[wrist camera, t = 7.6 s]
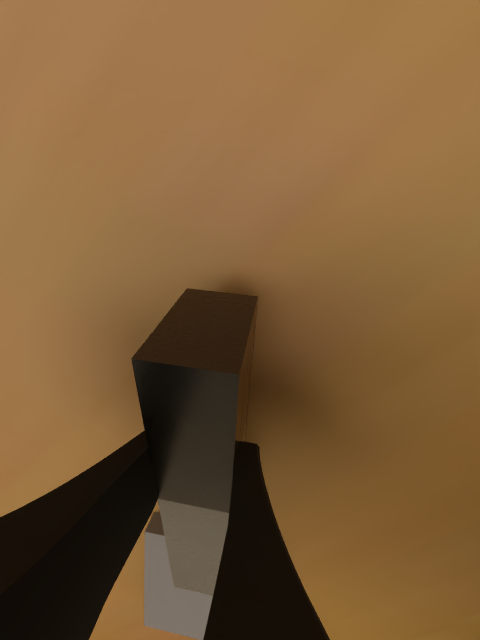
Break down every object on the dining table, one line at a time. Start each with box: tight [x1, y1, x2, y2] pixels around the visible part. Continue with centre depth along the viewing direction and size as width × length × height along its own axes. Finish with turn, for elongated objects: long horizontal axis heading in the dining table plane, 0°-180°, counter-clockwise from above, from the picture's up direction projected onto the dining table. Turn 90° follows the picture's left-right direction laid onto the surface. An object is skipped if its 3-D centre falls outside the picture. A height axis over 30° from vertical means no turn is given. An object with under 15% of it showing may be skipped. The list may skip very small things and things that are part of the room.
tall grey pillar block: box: [132, 289, 258, 596], centre depth 12 cm, size 14×2×4 cm, turn 175°
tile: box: [144, 512, 213, 640], centre depth 18 cm, size 8×2×8 cm
